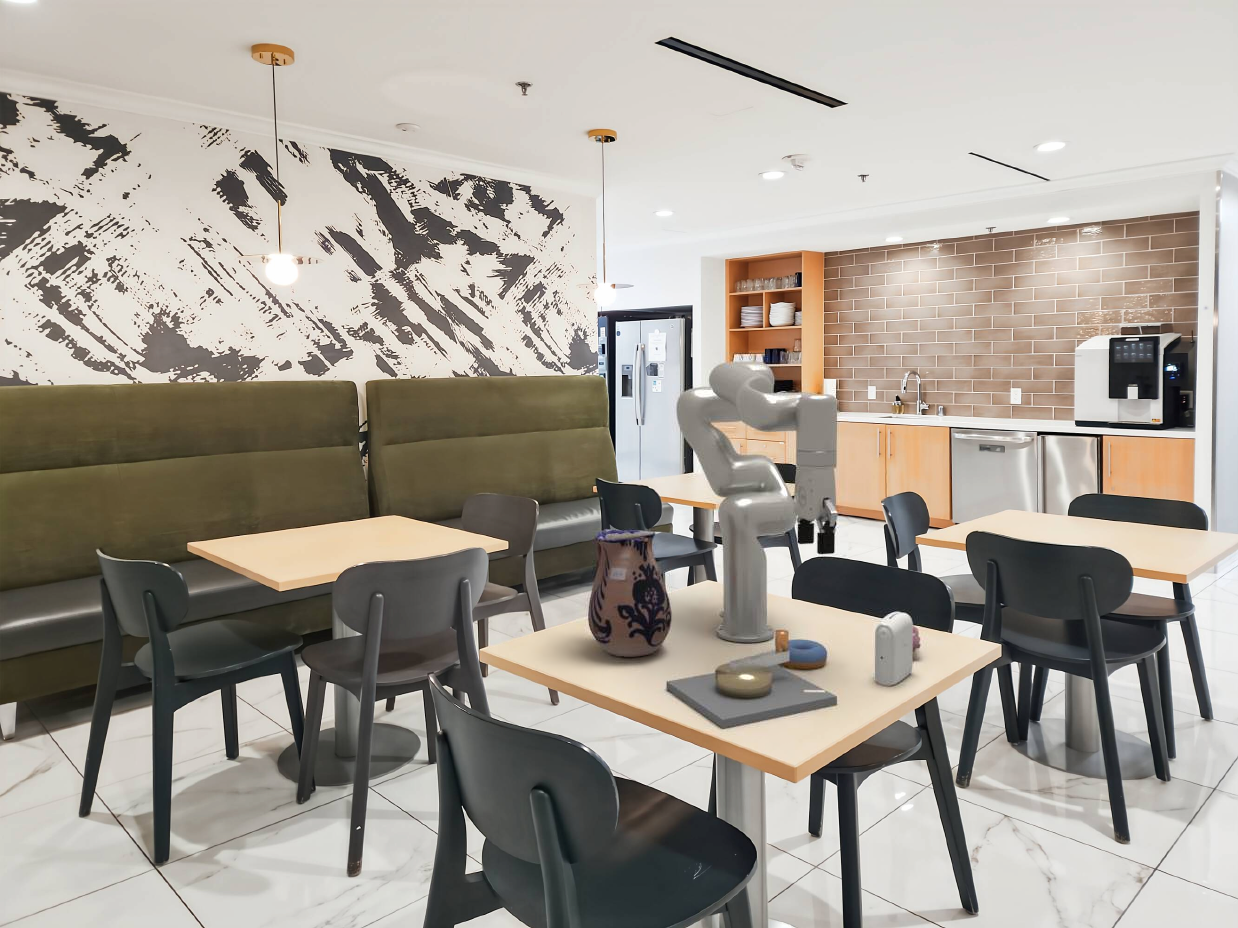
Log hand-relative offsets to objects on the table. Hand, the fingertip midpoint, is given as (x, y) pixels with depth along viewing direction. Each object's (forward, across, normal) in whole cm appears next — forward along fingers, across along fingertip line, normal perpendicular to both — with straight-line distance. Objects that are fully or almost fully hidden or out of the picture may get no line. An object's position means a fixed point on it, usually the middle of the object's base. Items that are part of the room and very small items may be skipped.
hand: (815, 548), depth 164 cm
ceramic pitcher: (+25, -21, -34) cm, 47 cm away
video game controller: (+24, -6, +22) cm, 33 cm away
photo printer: (+24, +7, +13) cm, 28 cm away
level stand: (+24, +11, -17) cm, 31 cm away
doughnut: (+25, -5, -1) cm, 25 cm away
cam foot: (+22, +9, -15) cm, 29 cm away
